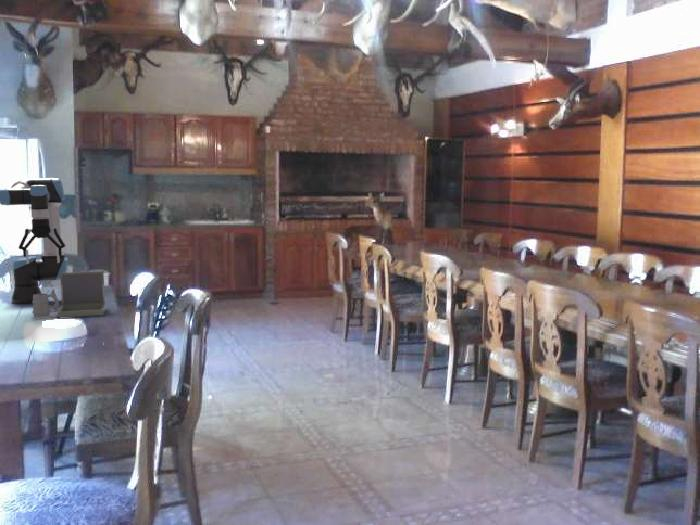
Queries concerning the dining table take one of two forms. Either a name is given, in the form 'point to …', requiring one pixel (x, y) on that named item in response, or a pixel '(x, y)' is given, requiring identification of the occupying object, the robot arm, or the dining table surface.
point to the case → (82, 294)
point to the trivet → (48, 315)
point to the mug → (44, 304)
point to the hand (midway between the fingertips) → (43, 263)
